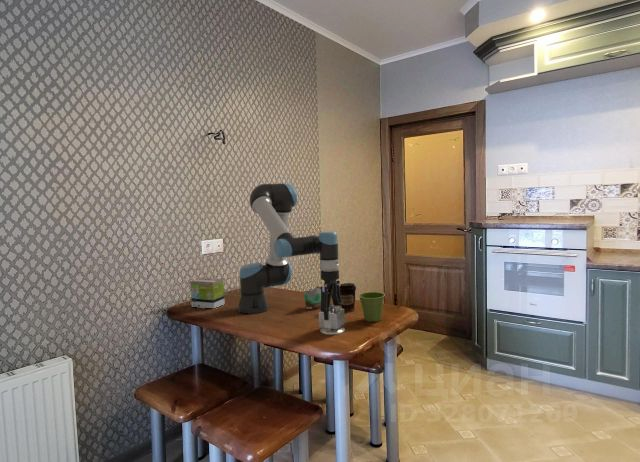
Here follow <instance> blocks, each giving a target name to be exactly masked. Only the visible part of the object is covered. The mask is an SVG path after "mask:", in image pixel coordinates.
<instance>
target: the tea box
mask: <svg viewBox="0 0 640 462" xmlns="http://www.w3.org/2000/svg"><path fill="white" fill-rule="evenodd" d="M189 283H190V284H189V287H190V288H189V289H190V303H191V308H192V307H197V309H205V308H216V307H219V306H221V305H223V306H225V305H224V304H226V302H225V288H224V287H225V285H224V283H225V282H224V279H223V278H213V277H212V278H211V277H200V278H198V279H194V280H191V281H189ZM221 307H222V306H221ZM219 308H220V307H219ZM216 309H217V308H216Z"/></svg>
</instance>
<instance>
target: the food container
mask: <svg viewBox="0 0 640 462" xmlns="http://www.w3.org/2000/svg"><path fill="white" fill-rule="evenodd" d="M321 287H322V286H319V285H317V286H316V287H315V288H311V289H309V290H304V291H303V296H304V302H305V310H306V311H316V310H321Z"/></svg>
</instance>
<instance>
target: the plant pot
mask: <svg viewBox="0 0 640 462" xmlns="http://www.w3.org/2000/svg"><path fill="white" fill-rule="evenodd" d="M385 296H386V294H385V292H378V291H367V292H362V293H359V294H358V296H357V297H358V298H359V300H360V303H361V308H362V312H363V317H364V320H365V321H366V322H369V323H372V322H375V323H376V322H380V321H382V315H383V307H384V306H383V305H384V299H385Z"/></svg>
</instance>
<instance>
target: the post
mask: <svg viewBox="0 0 640 462" xmlns="http://www.w3.org/2000/svg"><path fill="white" fill-rule="evenodd" d="M333 306H334V305H333V303H330V309H329V312H332V313H334V309H333ZM345 330H346V329H345V327H344V326H340V327H339V328H338V329H334V328H325V327H320V330H319V331H320V333H321V334H323V335H326V336H327V335H328V336H329V335H330V336H331V335H332V336H333V335H335V336H337V335H339V334H343V333H344V332H345Z"/></svg>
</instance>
